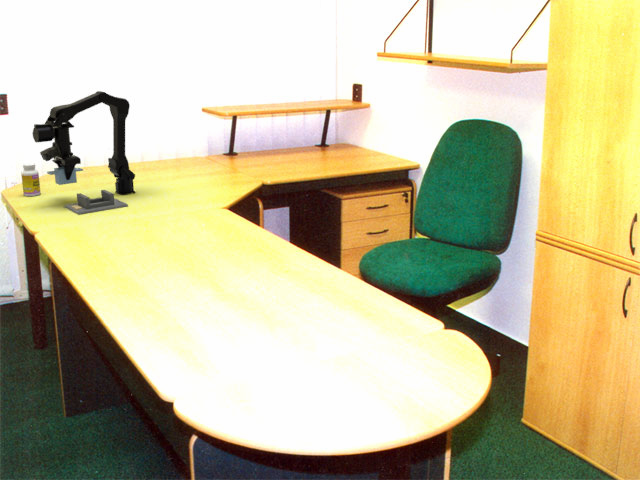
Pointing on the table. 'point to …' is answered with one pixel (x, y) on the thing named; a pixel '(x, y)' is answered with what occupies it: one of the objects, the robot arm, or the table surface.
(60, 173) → the block
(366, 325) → the table surface
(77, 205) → the chassis plate
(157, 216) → the table surface
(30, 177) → the supplement bottle
